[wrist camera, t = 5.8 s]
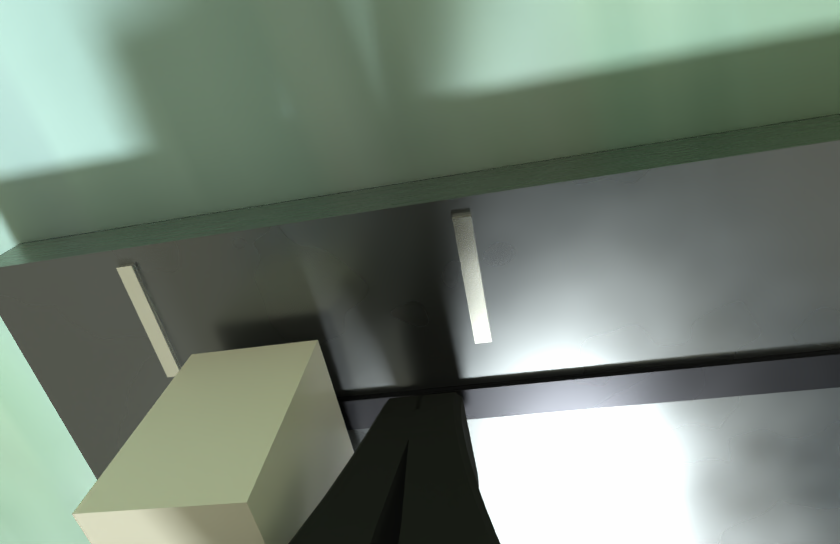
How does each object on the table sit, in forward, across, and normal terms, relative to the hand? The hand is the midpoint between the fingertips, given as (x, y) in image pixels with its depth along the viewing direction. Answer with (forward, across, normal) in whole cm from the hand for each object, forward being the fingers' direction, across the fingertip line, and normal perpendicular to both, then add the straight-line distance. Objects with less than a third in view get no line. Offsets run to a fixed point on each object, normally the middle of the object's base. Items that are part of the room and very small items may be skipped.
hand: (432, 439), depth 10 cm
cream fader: (+1, +3, 0) cm, 3 cm away
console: (+2, -1, +5) cm, 6 cm away
